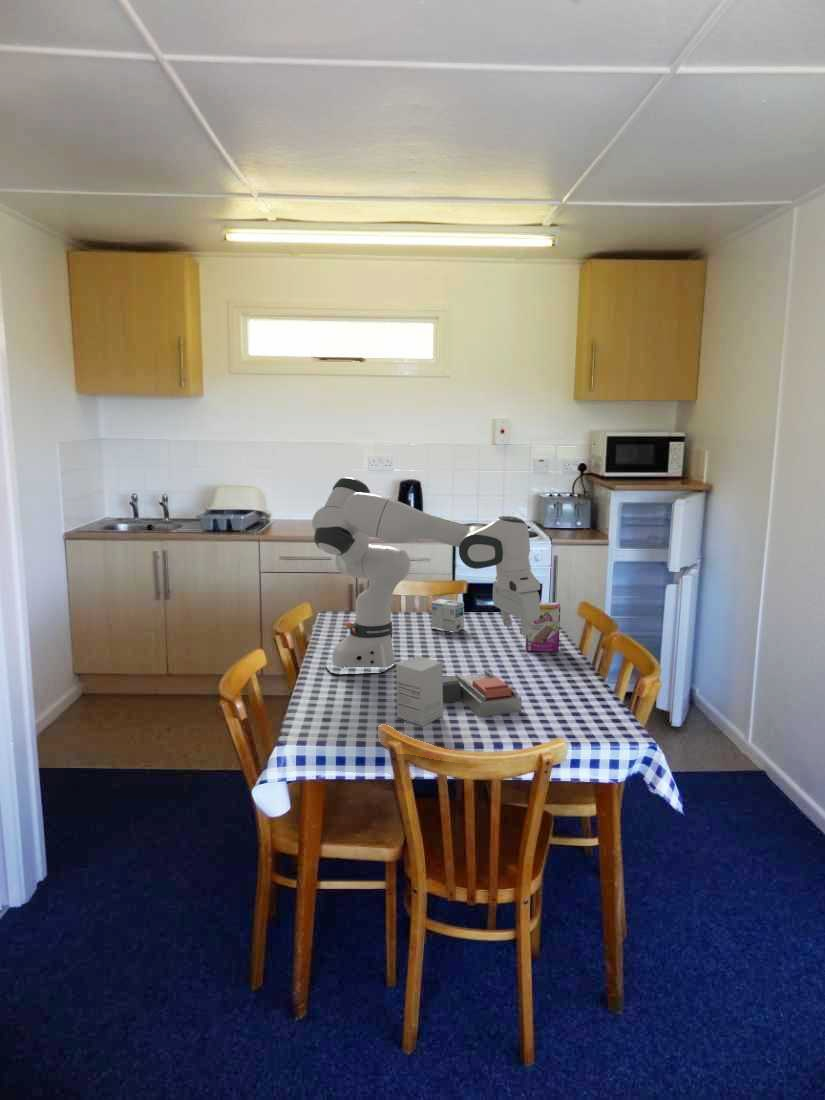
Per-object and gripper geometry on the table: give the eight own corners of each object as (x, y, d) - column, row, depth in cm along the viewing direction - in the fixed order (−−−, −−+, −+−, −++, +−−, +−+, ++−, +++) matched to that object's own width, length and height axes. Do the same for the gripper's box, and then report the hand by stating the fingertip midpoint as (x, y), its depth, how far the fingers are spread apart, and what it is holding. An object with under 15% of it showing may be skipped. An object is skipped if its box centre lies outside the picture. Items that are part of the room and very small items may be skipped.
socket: (479, 716, 199) (480, 698, 198) (451, 690, 219) (451, 673, 218) (521, 711, 203) (521, 692, 202) (489, 685, 223) (489, 668, 222)
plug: (440, 703, 209) (440, 683, 208) (434, 697, 214) (434, 677, 213) (460, 701, 211) (460, 680, 210) (453, 695, 216) (454, 675, 215)
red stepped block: (485, 698, 201) (485, 689, 200) (472, 687, 209) (472, 678, 209) (511, 695, 203) (511, 685, 203) (497, 684, 211) (497, 675, 211)
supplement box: (417, 708, 206) (417, 655, 203) (443, 716, 200) (443, 661, 198) (395, 718, 199) (395, 663, 196) (422, 727, 193) (422, 670, 191)
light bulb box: (464, 629, 283) (464, 601, 281) (455, 633, 277) (455, 605, 275) (439, 625, 289) (439, 598, 287) (430, 629, 283) (430, 601, 281)
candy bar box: (525, 652, 255) (526, 604, 252) (525, 648, 260) (526, 601, 257) (559, 653, 254) (560, 605, 251) (558, 648, 258) (559, 602, 256)
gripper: (485, 573, 204) (488, 622, 207) (520, 588, 185) (522, 642, 188) (506, 570, 206) (508, 619, 209) (543, 584, 187) (545, 638, 190)
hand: (515, 630), depth 198 cm, fingers open, 8 cm apart
